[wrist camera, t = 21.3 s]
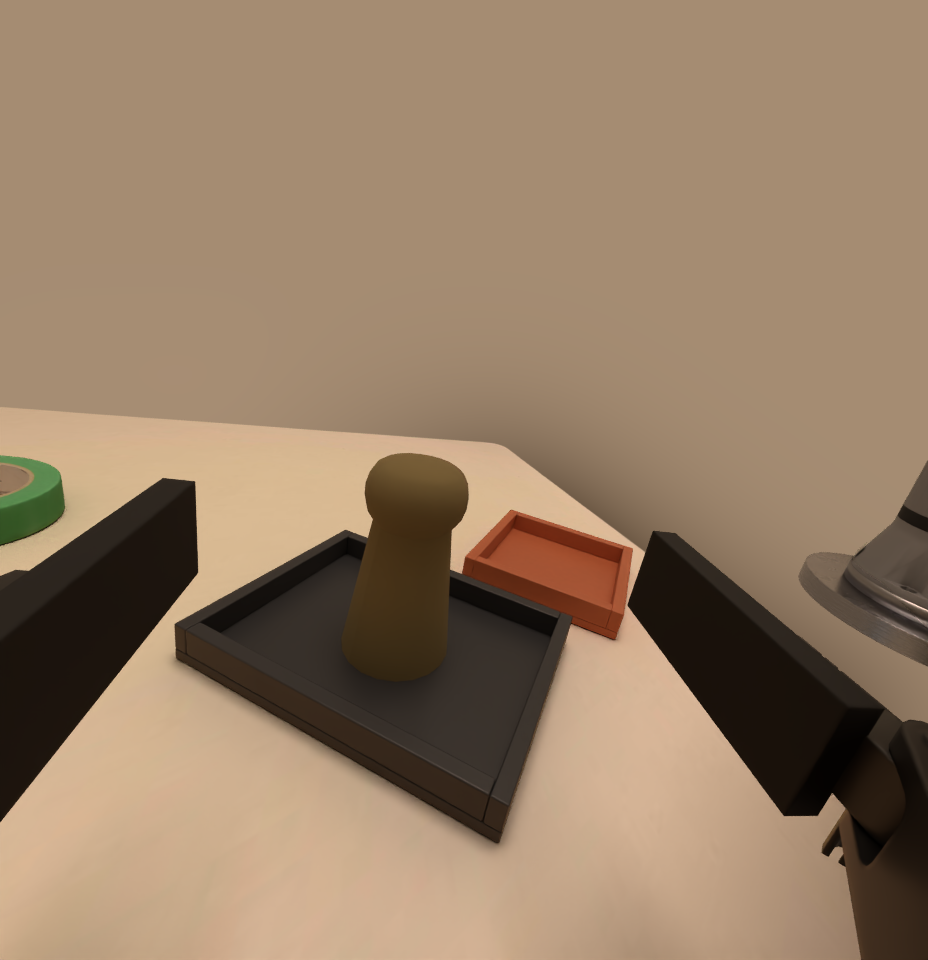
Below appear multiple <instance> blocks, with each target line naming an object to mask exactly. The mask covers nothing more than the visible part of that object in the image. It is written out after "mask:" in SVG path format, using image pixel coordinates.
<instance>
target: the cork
mask: <svg viewBox="0 0 928 960" xmlns="http://www.w3.org/2000/svg"><path fill="white" fill-rule="evenodd" d="M468 495H469V494H468V483H467V480H466V478H465V476H464V474H463V473H462V471H461V470H460V469H459V468H457V467H456V466H455V465H453V464H452V463H450V462H448V461H445V460H443V459H440V458H436V457H433V456H428V455H422V454H413V453H400V454H394V455H390V456H387V457H385V458H383V459H380V460H379V461H378V462H377V463H376V464H375V466H374V467H373V468H372V470H371V471H370V473H369V475H368V478H367V481H366V485H365V498H366V504H367V509H368V512H369V514H370V515H371V517H372V518H373V521H372V525H371V529H370V532H369V536H368V540H367V544H366V547H365V551H364V555H363V559H362V562H361V566H360V570H359V574H358V577H357V581H356V585H355V589H354V593H353V596H352V600H351V604H350V608H349V611H348V615H347V619H346V623H345V626H344V630H343V634H342V638H341V643H342V651H343V653H344V655H345V657H346V658H347V660H348V662H349V663H350V664H351V665H353V666H354V667H355V668H356V669H357V670H359V671H360V672H361V673H364V674H366V675H369V676H371V677H373V678H376V679H380V680H387V681H394V682H398V681H408V680H415V679H417V678H420V677H423V676H426V675H428V674H430V673H431V672H432V671H434V670H435V669H436V668H437V667H439V666H440V665H441V663H442V661H443V659H444V658H445V656H446V651H447V633H448V608H449V583H450V558H451V533H452V529H453V528H454V527H456V526H457V525H458V523H459V522H460V521H461V520H462V518H463V516H464V514H465V512H466V509H467V504H468Z"/></svg>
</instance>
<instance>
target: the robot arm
mask: <svg viewBox="0 0 928 960" xmlns="http://www.w3.org/2000/svg"><path fill="white" fill-rule="evenodd" d="M865 545H866V544H864V545H863V546H862V547H861V548H860V549H858V550H857V552H856V553H855V555H854V557H853V558H851V560H850V561H849V563H848V565H847V567H846V569H845V571H844V575H845V577H846V579H847V580H848V581H849V582H850V583H851V584H852V585H853V586H854V587H855V588H857V589H858V590H859V591H860V592H862V593H863V594H865V595H866V596H868V597H869V598H871V599H872V600H874V601H876V602H877V603H879V604H881V605H883V606H884V607H886V608H888V609H890V610H892V611H894V612H896V613H898V614H900V615H902V616H904V617H906V618H908V619H910V620H912V621H914V622H916V623H919V624H921V625H923V626H926V627H928V461H927V463H926V464H925V466H924V468H923V470H922V472H921V474H920V475H919V477H918V479H917V480H916V482H915V484H914V486H913V488H912V490H911V492H910V493H909V495H908V497H907V498H906V500H905V502H904V504H903V506H902V508H901V510H900V512H899V513H898V515H897V517H896V519H895V520H894V522H893V523H892V524H891V525H890V526H888V527H887V528H886V529H885V530H884V531H883V532H881V533H880V534H879V535H878V536H877V537H875V538H874V539H873V540H872V541H871V542H870V543H868V544H867V545H866V546H865ZM864 546H865V547H864ZM197 573H198V551H197V521H196V491H195V481H186V480H176V479H167V478H162V479H161V480H160V481H158V482H157V483H155V484H154V485H152V486H151V487H149V488H148V489H147V490H145V491H144V492H142V493H141V494H139V495H138V496H136V497H135V498H134V499H132V500H131V501H129V502H128V503H126V504H125V505H123V506H122V507H121V508H119V509H118V510H116V511H115V512H113V513H112V514H110V515H109V516H108V517H106V518H105V519H103V520H102V521H100V522H99V523H97V524H96V525H95V526H93V527H92V528H90V529H89V530H87V531H86V532H84V533H83V534H82V535H80V536H79V537H77V538H76V539H74V540H73V541H71V542H70V543H69V544H67V545H66V546H64V547H63V548H61V549H60V550H58V551H57V552H56V553H54V554H53V555H51V556H50V557H48V558H47V559H45V560H44V561H43V562H41V563H40V564H38V565H37V566H35V567H34V568H32V569H31V570H30V571H23V570H14V571H12V572H9V573H7V574H4V575H2V576H0V822H1V821H2V819H3V818H4V817H5V816H6V814H7V813H8V812H9V811H10V809H11V808H12V807H13V806H14V804H15V803H16V802H17V801H18V799H19V798H20V797H21V795H22V794H23V793H24V792H25V790H26V789H27V788H28V787H29V785H30V784H31V783H32V782H33V780H34V779H35V778H36V777H37V775H38V774H39V773H40V772H41V770H42V769H43V768H44V766H45V765H46V764H47V763H48V761H49V760H50V759H51V758H52V756H53V755H54V754H55V753H56V751H57V750H58V749H59V748H60V746H61V745H62V744H63V743H64V741H65V740H66V739H67V737H68V736H69V735H70V734H71V732H72V731H73V730H74V729H75V727H76V726H77V725H78V724H79V722H80V721H81V720H82V719H83V717H84V716H85V715H86V713H87V712H88V711H89V710H90V708H91V707H92V706H93V705H94V703H95V702H96V701H97V700H98V698H99V697H100V696H101V695H102V693H103V692H104V691H105V690H106V688H107V687H108V686H109V684H110V683H111V682H112V681H113V679H114V678H115V677H116V676H117V674H118V673H119V672H120V671H121V669H122V668H123V667H124V666H125V664H126V663H127V662H128V661H129V659H130V658H131V657H132V655H133V654H134V653H135V652H136V650H137V649H138V648H139V647H140V645H141V644H142V643H143V642H144V640H145V639H146V638H147V637H148V635H149V634H150V633H151V632H152V630H153V629H154V628H155V626H156V625H157V624H158V623H159V621H160V620H161V619H162V618H163V616H164V615H165V614H166V613H167V611H168V610H169V609H170V608H171V606H172V605H173V604H174V602H175V601H176V600H177V599H178V597H179V596H180V595H181V594H182V592H183V591H184V590H185V589H186V587H187V586H188V585H189V584H190V582H191V581H192V580H193V579H194V577H195V576H196V575H197ZM628 607H629V608H630V610H631V611H632V612H633V614H634V615H635V616H636V618H637V619H638V620H639V622H640V623H641V624H642V626H643V627H644V628H645V630H646V631H647V632H648V634H649V635H650V636H651V638H652V639H653V640H654V642H655V643H656V645H657V646H658V647H659V649H660V650H661V651H662V653H663V654H664V655H665V657H666V658H667V659H668V661H669V662H670V663H671V665H672V666H673V667H674V669H675V670H676V671H677V673H678V674H679V675H680V677H681V678H682V680H683V681H684V682H685V684H686V685H687V686H688V688H689V689H690V690H691V692H692V693H693V694H694V696H695V697H696V698H697V700H698V701H699V702H700V704H701V705H702V706H703V708H704V709H705V710H706V712H707V713H708V715H709V716H710V717H711V719H712V720H713V721H714V723H715V724H716V725H717V727H718V728H719V729H720V731H721V732H722V733H723V735H724V736H725V737H726V739H727V740H728V741H729V743H730V744H731V745H732V747H733V748H734V750H735V751H736V752H737V754H738V755H739V756H740V758H741V759H742V760H743V762H744V763H745V764H746V766H747V767H748V768H749V770H750V771H751V772H752V774H753V775H754V776H755V778H756V779H757V780H758V782H759V783H760V785H761V786H762V787H763V789H764V790H765V791H766V793H767V794H768V795H769V797H770V798H771V799H772V801H773V802H774V803H775V805H776V806H777V807H778V809H779V810H780V811H781V813H782V814H783V815H784V816H818V814H819V813H820V811H821V810H822V808H823V806H824V805H825V803H826V802H827V800H828V799H829V797H830V795H831V794H832V793H833V794H834V795H835V796H836V798H837V799H838V800H839V801H840V802H841V803H842V804H843V805H844V807H845V808H846V810H845V811H844V813H843V814H842V816H841V817H840V819H839V820H838V822H837V823H836V825H835V826H834V828H833V829H832V831H831V833H830V834H829V836H828V837H827V839H826V840H825V842H824V843H823V846H822V852H821V853H823V854H824V855H826V856H828V857H829V855H830V854H831V852H832V851H833V849H834V848H835V847H838V846H839V847H842V848H843V855H842V857H841V858H840V860H839V862H838V863H840V864H841V865H843V866H845V867H846V872H847V877H848V883H849V889H850V895H851V901H852V907H853V913H854V919H855V925H856V931H857V937H858V943H859V949H860V955H861V960H928V723H925V722H922V721H916V720H908V721H905V722H902V721H901V720H900V719H899V718H897V717H896V716H895V715H893V714H892V713H891V712H890V711H889V710H888V709H887V708H885V707H884V706H883V705H882V704H881V703H879V702H878V701H877V700H876V699H875V698H873V697H872V696H871V695H870V694H869V693H867V692H866V691H865V690H864V689H863V688H861V687H860V686H859V685H858V684H856V683H855V682H854V681H853V680H852V679H850V678H849V677H848V676H847V675H846V674H845V673H843V672H842V671H839V670H838V668H837V667H836V666H835V665H834V664H832V663H831V662H830V661H829V660H828V659H827V658H824V657H823V656H822V655H821V654H820V653H819V652H818V651H817V650H816V649H815V648H813V647H812V646H811V645H810V644H808V643H807V642H806V641H805V640H804V639H802V638H801V637H799V636H798V635H796V634H795V633H794V632H793V631H792V630H790V629H789V628H788V627H787V626H786V625H784V624H783V623H782V622H781V621H780V620H778V619H777V618H776V617H775V616H774V615H772V614H771V613H770V612H769V611H768V610H766V609H765V608H764V607H763V606H762V605H761V604H759V603H758V602H757V601H756V600H754V599H753V598H752V597H751V596H750V595H749V594H747V593H746V592H745V591H744V590H742V589H741V588H740V587H739V586H738V585H737V584H735V583H734V582H733V581H732V580H731V579H729V578H728V577H727V576H726V575H725V574H723V573H722V572H721V571H720V570H719V569H717V568H716V567H715V566H714V565H713V564H712V563H710V562H709V561H708V560H706V558H704V557H703V556H702V555H700V553H698V552H697V551H696V550H695V549H694V548H692V547H691V546H690V545H689V544H688V543H686V542H685V541H684V540H683V539H682V538H680V537H679V536H678V535H677V534H676V533H669V532H659V531H653V532H652V535H651V538H650V541H649V544H648V547H647V550H646V553H645V556H644V558H643V561H642V564H641V567H640V570H639V573H638V576H637V579H636V582H635V584H634V587H633V590H632V593H631V596H630V599H629V602H628Z"/></svg>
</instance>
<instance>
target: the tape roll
mask: <svg viewBox="0 0 928 960" xmlns="http://www.w3.org/2000/svg"><path fill="white" fill-rule="evenodd" d="M0 494H3V495H0V545H1V544H5V543H8V542H11V541H14V540H17V539H20V538H23V537H26V536H28V535H31V534H33V533H35V532H37V531H39V530H41V529H43V528H45V527H47V526H48V525H50V524H52V523H53V522H54V521H56V520H57V519H58V518H59V517H60V516H61V515H62V513H63V511H64V508H65V503H64V494H63V487H62V480H61V475H60V472H59V471H58V470H57V469H56V468H54V467H52V466H51V465H49V464H46V463H43V462H40V461H36V460H32V459H27V458H21V457H12V456H1V455H0Z"/></svg>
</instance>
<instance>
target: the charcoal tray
mask: <svg viewBox="0 0 928 960" xmlns="http://www.w3.org/2000/svg"><path fill="white" fill-rule="evenodd" d="M367 540H368V538H366V537H364V536H361V535H358V534H356V533H353V532H350V531H348V530H344V531H342V532H341V533H339V534H337V535H335V536H333V537H332V538H330V539H328V540H326V541H324V542H323V543H321V544H319V545H317V546H315V547H313V548H312V549H310V550H308V551H306V552H304V553H303V554H301V555H299V556H297V557H295V558H293V559H292V560H290V561H288V562H286V563H284V564H283V565H281V566H279V567H277V568H275V569H273V570H272V571H270V572H268V573H266V574H264V575H263V576H261V577H259V578H257V579H255V580H254V581H252V582H250V583H248V584H246V585H244V586H243V587H241V588H239V589H237V590H235V591H234V592H232V593H230V594H228V595H226V596H224V597H223V598H221V599H219V600H217V601H215V602H214V603H212V604H210V605H208V606H206V607H204V608H203V609H201V610H199V611H197V612H195V613H194V614H192V615H190V616H188V617H186V618H185V619H183V620H181V621H179V622H177V623H176V624H175V644H176V658H178V659H180V660H181V661H183V662H185V663H187V664H188V665H190V666H192V667H194V668H195V669H197V670H199V671H200V672H202V673H204V674H206V675H207V676H209V677H211V678H213V679H214V680H216V681H218V682H220V683H221V684H223V685H225V686H226V687H228V688H230V689H232V690H233V691H235V692H237V693H239V694H240V695H242V696H244V697H246V698H247V699H249V700H251V701H252V702H254V703H256V704H258V705H259V706H261V707H263V708H265V709H266V710H268V711H270V712H272V713H273V714H275V715H277V716H278V717H280V718H282V719H284V720H285V721H287V722H289V723H291V724H292V725H294V726H296V727H298V728H299V729H301V730H303V731H304V732H306V733H308V734H310V735H311V736H313V737H315V738H317V739H318V740H320V741H322V742H324V743H325V744H327V745H329V746H330V747H332V748H334V749H336V750H337V751H339V752H341V753H343V754H344V755H346V756H348V757H350V758H351V759H353V760H355V761H356V762H358V763H360V764H362V765H363V766H365V767H367V768H369V769H370V770H372V771H374V772H375V773H377V774H379V775H381V776H382V777H384V778H386V779H388V780H389V781H391V782H393V783H395V784H396V785H398V786H400V787H401V788H403V789H405V790H407V791H408V792H410V793H412V794H414V795H415V796H417V797H419V798H421V799H422V800H424V801H426V802H427V803H429V804H431V805H433V806H434V807H436V808H438V809H440V810H441V811H443V812H445V813H447V814H448V815H450V816H452V817H453V818H455V819H457V820H459V821H460V822H462V823H464V824H466V825H467V826H469V827H471V828H473V829H474V830H476V831H478V832H479V833H481V834H483V835H485V836H486V837H488V838H490V839H492V840H493V841H495V842H497V843H499V842H500V839H501V836H502V833H503V830H504V827H505V824H506V820H507V817H508V814H509V811H510V808H511V805H512V802H513V799H514V796H515V793H516V790H517V787H518V784H519V781H520V778H521V775H522V772H523V769H524V766H525V763H526V760H527V757H528V754H529V751H530V748H531V745H532V742H533V739H534V736H535V733H536V730H537V727H538V724H539V720H540V717H541V714H542V711H543V708H544V705H545V702H546V699H547V696H548V693H549V690H550V687H551V684H552V681H553V678H554V675H555V672H556V669H557V666H558V663H559V660H560V657H561V654H562V651H563V648H564V645H565V642H566V638H567V635H568V632H569V628H570V625H571V622H572V619H573V617H572V616H570V615H567V614H564V613H560V612H559V611H557V610H554V609H551V608H549V607H546V606H544V605H541V604H538V603H536V602H533V601H531V600H528V599H525V598H523V597H520V596H518V595H515V594H512V593H510V592H507V591H504V590H502V589H499V588H497V587H494V586H491V585H489V584H486V583H484V582H481V581H478V580H476V579H473V578H471V577H468V576H465V575H463V574H460V573H457V572H455V571H452V570H450V583H449V608H448V633H447V651H446V656H445V658H444V659H443V661H442V663H441V665H440V666H439V667H437V668H436V669H435V670H434V671H432V672H431V673H430V674H428V675H426V676H423V677H420V678H417V679H415V680H408V681H398V682H394V681H387V680H380V679H376V678H373V677H371V676H369V675H366V674H364V673H361V672H360V671H359V670H357V669H356V668H355V667H354V666H353V665H351V664H350V663H349V662H348V660H347V658H346V657H345V655H344V653H343V651H342V643H341V638H342V634H343V630H344V626H345V623H346V619H347V615H348V611H349V608H350V604H351V600H352V596H353V593H354V589H355V585H356V581H357V577H358V574H359V570H360V566H361V562H362V559H363V555H364V551H365V547H366V544H367Z"/></svg>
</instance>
